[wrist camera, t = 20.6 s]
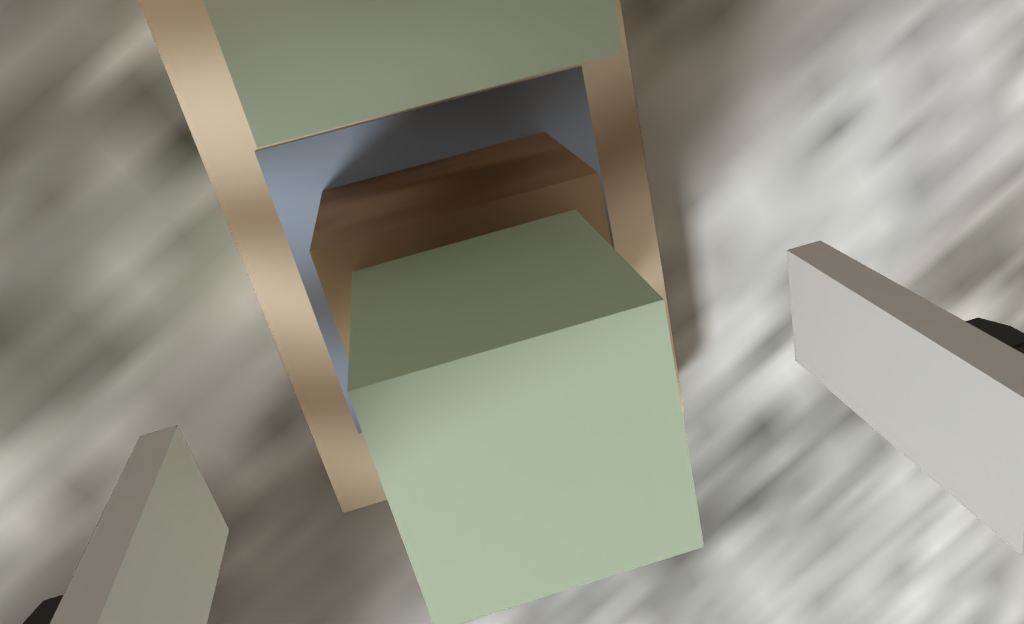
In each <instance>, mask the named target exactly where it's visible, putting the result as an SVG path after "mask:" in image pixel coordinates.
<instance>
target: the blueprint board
mask: <svg viewBox="0 0 1024 624" xmlns="http://www.w3.org/2000/svg"><path fill="white" fill-rule="evenodd" d="M139 3H140V5H141V8H142V10H143V13H144V15H145V18H146V20H147V23H148V25H149V28H150V31H151V33H152V36H153V38H154V41H155V43H156V46H157V48H158V51H159V53H160V56H161V58H162V61H163V63H164V66H165V68H166V71H167V73H168V76H169V78H170V81H171V83H172V86H173V88H174V91H175V93H176V96H177V98H178V101H179V103H180V106H181V108H182V111H183V113H184V116H185V118H186V121H187V123H188V126H189V128H190V131H191V133H192V136H193V138H194V141H195V143H196V146H197V148H198V151H199V153H200V156H201V158H202V161H203V163H204V166H205V168H206V171H207V173H208V176H209V178H210V181H211V183H212V186H213V188H214V191H215V193H216V196H217V198H218V201H219V203H220V206H221V209H222V211H223V214H224V216H225V219H226V221H227V224H228V226H229V229H230V231H231V234H232V236H233V239H234V241H235V244H236V246H237V249H238V251H239V254H240V256H241V259H242V261H243V264H244V266H245V269H246V271H247V274H248V276H249V279H250V281H251V284H252V286H253V289H254V291H255V294H256V296H257V299H258V301H259V304H260V306H261V309H262V311H263V314H264V316H265V319H266V321H267V324H268V326H269V329H270V331H271V334H272V336H273V339H274V341H275V344H276V346H277V349H278V351H279V354H280V356H281V359H282V361H283V364H284V366H285V369H286V371H287V374H288V376H289V379H290V381H291V384H292V386H293V389H294V392H295V394H296V397H297V399H298V402H299V404H300V407H301V409H302V412H303V414H304V417H305V419H306V422H307V424H308V427H309V429H310V432H311V434H312V437H313V439H314V442H315V444H316V447H317V449H318V452H319V454H320V457H321V459H322V462H323V464H324V467H325V469H326V472H327V474H328V477H329V479H330V482H331V484H332V487H333V489H334V492H335V494H336V497H337V499H338V502H339V504H340V507H341V509H342V512H343V513H346V512H349V511H352V510H356V509H359V508H362V507H366V506H369V505H372V504H376V503H379V502H382V501H386V500H387V498H386V495H385V492H384V489H383V487H382V484H381V481H380V479H379V476H378V473H377V471H376V468H375V465H374V462H373V460H372V457H371V454H370V452H369V449H368V446H367V444H366V441H365V438H364V435H363V433H362V430H361V427H360V425H359V422H358V419H357V417H356V414H355V411H354V409H353V406H352V403H351V400H350V398H349V395H348V392H347V386H348V362H349V361H348V358H347V355H346V352H345V349H344V347H343V344H342V341H341V338H340V335H339V333H338V330H337V327H336V324H335V322H334V319H333V316H332V313H331V310H330V308H329V305H328V302H327V299H326V296H325V294H324V291H323V288H322V285H321V282H320V280H319V277H318V274H317V271H316V268H315V266H314V263H313V260H312V257H311V254H310V252H309V251H310V247H311V242H312V237H313V232H314V228H315V223H316V218H317V214H318V209H319V204H320V200H321V195H322V191H324V190H328V189H331V188H335V187H339V186H343V185H346V184H350V183H354V182H358V181H361V180H365V179H369V178H373V177H376V176H380V175H384V174H388V173H391V172H395V171H399V170H402V169H406V168H410V167H414V166H417V165H421V164H425V163H429V162H432V161H436V160H440V159H444V158H447V157H451V156H455V155H459V154H462V153H466V152H470V151H474V150H477V149H481V148H485V147H488V146H492V145H496V144H500V143H503V142H507V141H511V140H515V139H518V138H522V137H526V136H530V135H533V134H537V133H541V132H546V133H547V134H549V135H550V136H551V137H552V138H554V139H555V140H556V141H558V142H559V143H560V144H562V145H563V146H564V147H566V148H567V149H568V150H570V151H571V152H572V153H573V154H575V155H576V156H577V157H579V158H580V159H581V160H583V161H584V162H585V163H587V164H588V165H589V166H591V167H592V168H593V169H595V170H596V171H597V172H598V173H599V177H600V183H601V188H602V194H603V199H604V205H605V210H606V216H607V221H608V227H609V232H610V238H611V243H612V247H613V248H614V249H615V250H616V251H617V252H618V253H619V254H620V255H621V256H622V257H623V258H624V259H625V260H626V261H627V262H628V263H629V264H630V265H631V266H632V267H633V268H634V269H635V271H636V272H637V273H638V274H639V275H640V276H641V277H642V278H643V279H644V280H645V281H646V282H647V283H648V284H649V285H650V286H651V287H652V288H653V289H654V290H655V291H656V292H657V293H658V294H659V295H660V296H661V297H662V298H663V299H664V303H665V309H666V315H667V321H668V327H669V334H670V340H671V346H672V352H673V358H674V365H675V371H676V377H677V383H678V389H679V395H680V402H681V408H682V412H684V407H683V401H682V394H681V388H680V381H679V375H678V369H677V362H676V356H675V349H674V343H673V337H672V330H671V324H670V317H669V311H668V304H667V298H666V292H665V285H664V279H663V272H662V266H661V260H660V253H659V247H658V240H657V234H656V228H655V221H654V215H653V208H652V202H651V195H650V189H649V183H648V176H647V170H646V163H645V157H644V151H643V144H642V138H641V131H640V125H639V119H638V112H637V106H636V99H635V93H634V86H633V80H632V74H631V67H630V61H629V54H628V48H627V42H626V35H625V29H624V22H623V16H622V10H621V3H620V0H614V3H615V9H616V15H617V22H618V28H619V34H620V40H621V47H622V53H619V54H615V55H611V56H607V57H603V58H600V59H596V60H592V61H588V62H584V63H581V64H577V65H573V66H569V67H565V68H561V69H558V70H554V71H550V72H546V73H542V74H539V75H535V76H531V77H527V78H523V79H519V80H516V81H512V82H508V83H504V84H500V85H497V86H493V87H489V88H485V89H481V90H477V91H474V92H470V93H466V94H462V95H458V96H455V97H451V98H447V99H443V100H439V101H435V102H432V103H428V104H424V105H420V106H416V107H412V108H409V109H405V110H401V111H397V112H393V113H390V114H386V115H382V116H378V117H374V118H370V119H367V120H363V121H359V122H355V123H351V124H348V125H344V126H340V127H336V128H332V129H328V130H325V131H321V132H317V133H313V134H309V135H306V136H302V137H298V138H294V139H290V140H286V141H283V142H279V143H275V144H271V145H267V146H264V147H260V148H257V146H256V143H255V140H254V138H253V135H252V132H251V129H250V127H249V124H248V121H247V119H246V116H245V113H244V110H243V108H242V105H241V102H240V99H239V97H238V94H237V91H236V88H235V86H234V83H233V80H232V78H231V75H230V72H229V69H228V67H227V64H226V61H225V58H224V56H223V53H222V50H221V48H220V45H219V42H218V39H217V37H216V34H215V31H214V28H213V26H212V23H211V20H210V18H209V15H208V12H207V9H206V7H205V4H204V1H203V0H139Z"/></svg>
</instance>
